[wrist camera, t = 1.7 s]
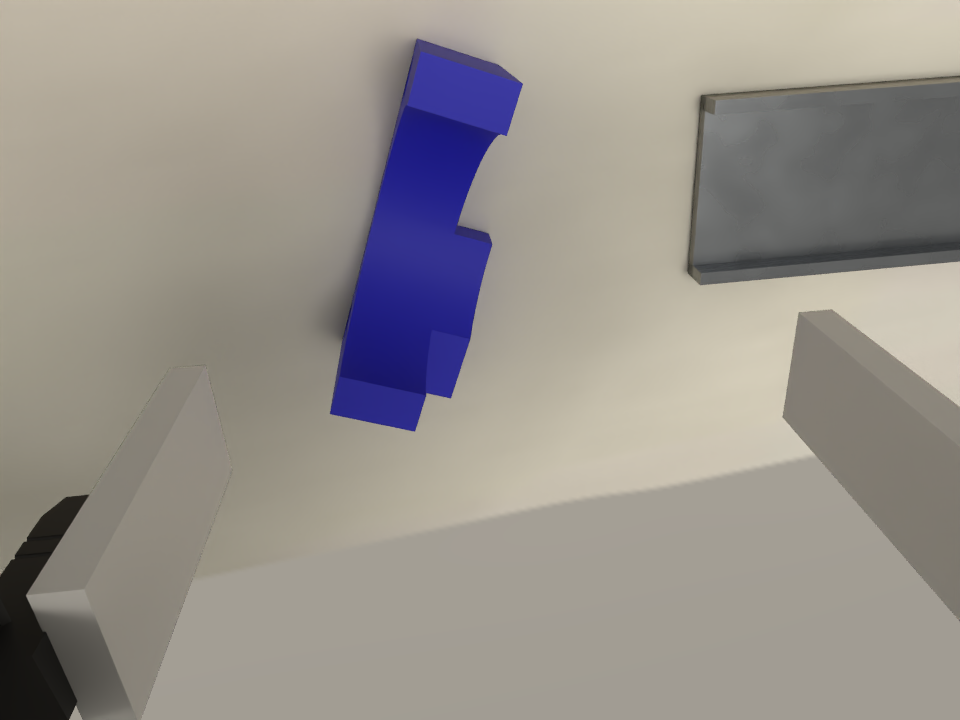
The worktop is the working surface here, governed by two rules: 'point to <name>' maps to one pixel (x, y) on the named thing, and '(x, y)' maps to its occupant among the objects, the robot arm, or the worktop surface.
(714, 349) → the worktop surface
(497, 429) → the worktop surface
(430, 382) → the cable clip
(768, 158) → the rail
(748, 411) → the worktop surface
